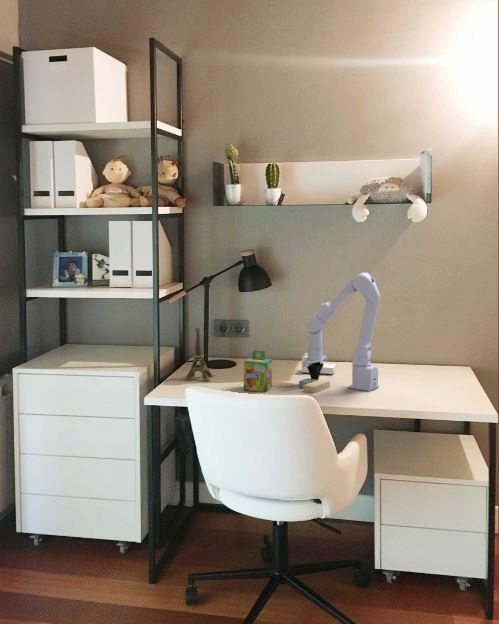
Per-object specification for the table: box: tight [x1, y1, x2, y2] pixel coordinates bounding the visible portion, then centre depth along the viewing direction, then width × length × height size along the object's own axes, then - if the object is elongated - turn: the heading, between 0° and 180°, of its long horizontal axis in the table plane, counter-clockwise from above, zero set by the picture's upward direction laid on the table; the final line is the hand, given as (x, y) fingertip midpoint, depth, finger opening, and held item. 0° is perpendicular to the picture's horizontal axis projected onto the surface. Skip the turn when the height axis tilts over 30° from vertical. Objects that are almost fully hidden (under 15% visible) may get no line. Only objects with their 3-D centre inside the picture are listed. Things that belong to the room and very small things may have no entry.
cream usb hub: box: [302, 379, 331, 394], centre depth 294 cm, size 5×11×2 cm, turn 143°
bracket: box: [301, 352, 337, 375], centre depth 321 cm, size 13×7×8 cm, turn 75°
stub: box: [298, 377, 316, 389], centre depth 298 cm, size 4×6×2 cm, turn 143°
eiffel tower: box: [183, 326, 215, 383], centre depth 312 cm, size 11×11×25 cm
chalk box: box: [243, 350, 273, 393], centre depth 294 cm, size 9×9×15 cm
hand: (314, 381), depth 302 cm, fingers closed
